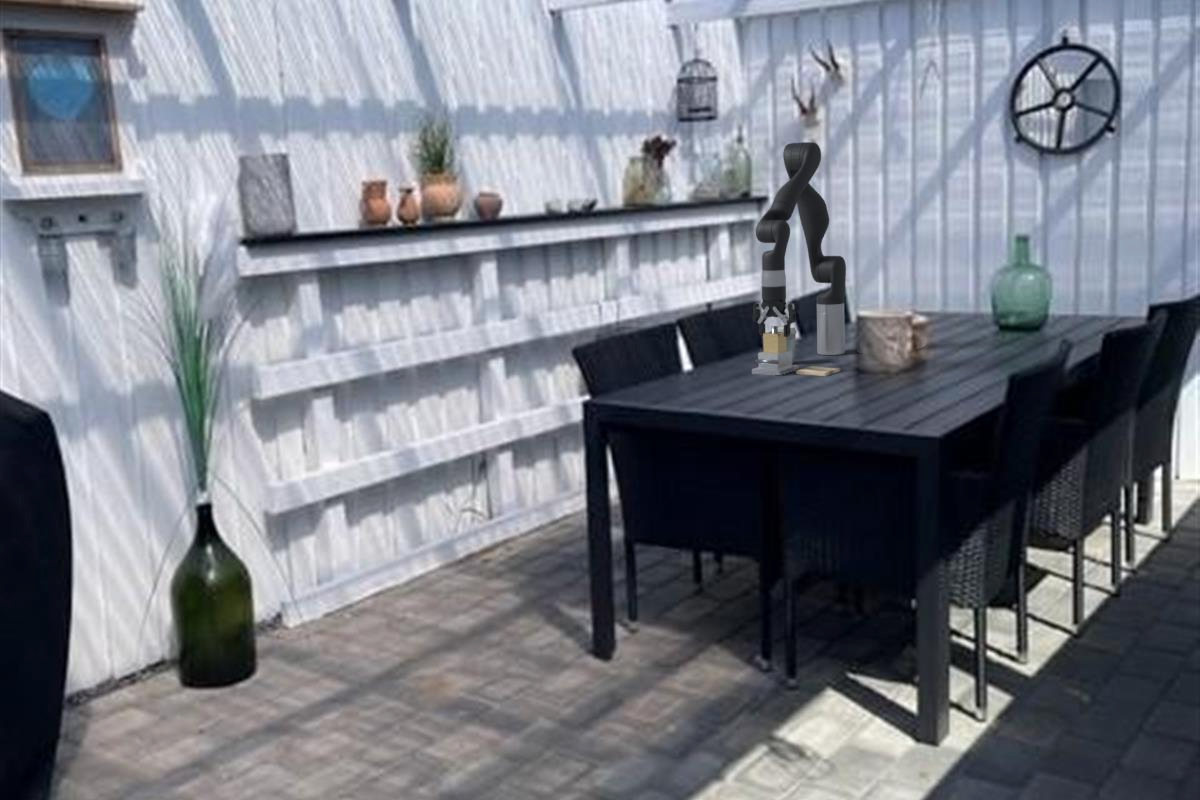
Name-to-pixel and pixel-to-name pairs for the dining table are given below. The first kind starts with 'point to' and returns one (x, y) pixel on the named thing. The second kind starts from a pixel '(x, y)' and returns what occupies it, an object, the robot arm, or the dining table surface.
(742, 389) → the dining table surface
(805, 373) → the beige pad
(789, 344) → the coffee cup
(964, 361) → the dining table surface
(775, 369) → the block
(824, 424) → the dining table surface
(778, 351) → the collar
